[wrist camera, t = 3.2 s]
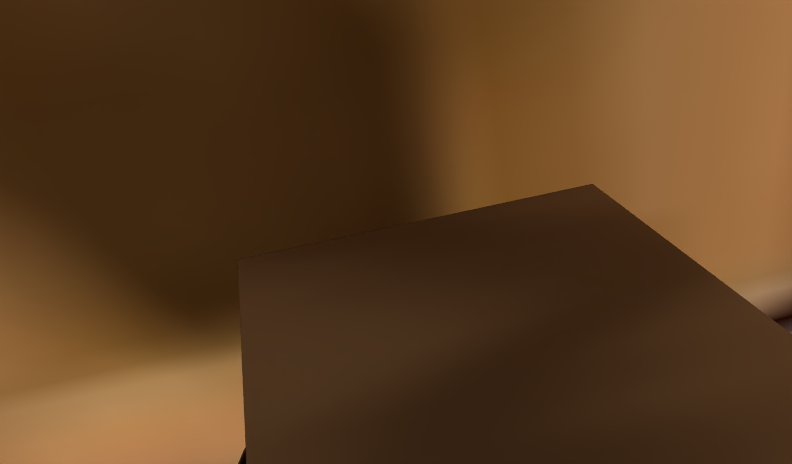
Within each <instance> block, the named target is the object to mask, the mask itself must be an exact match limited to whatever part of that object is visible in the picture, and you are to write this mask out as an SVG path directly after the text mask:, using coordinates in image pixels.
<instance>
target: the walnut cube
mask: <svg viewBox="0 0 792 464" xmlns="http://www.w3.org/2000/svg"><path fill="white" fill-rule="evenodd" d="M238 282H239V305H240V327H241V350H242V373H243V396H244V418H245V441H246V464H792V334H791V333H789V332H788V331H787V330H785V329H784V328H783V327H781V326H780V325H779V324H777V323H776V322H775V321H773V320H772V319H771V318H769V317H768V316H767V315H766V314H764V313H763V312H762V311H760V310H759V309H758V308H756V307H755V306H754V305H752V304H751V303H750V302H748V301H747V300H746V299H744V298H743V297H742V296H740V295H739V294H738V293H736V292H735V291H734V290H732V289H731V288H730V287H728V286H727V285H726V284H724V283H723V282H722V281H720V280H719V279H718V278H717V277H715V276H714V275H713V274H711V273H710V272H709V271H707V270H706V269H705V268H703V267H702V266H701V265H699V264H698V263H697V262H695V261H694V260H693V259H691V258H690V257H689V256H687V255H686V254H685V253H683V252H682V251H681V250H679V249H678V248H677V247H675V246H674V245H673V244H672V243H670V242H669V241H668V240H666V239H665V238H664V237H662V236H661V235H660V234H658V233H657V232H656V231H654V230H653V229H652V228H650V227H649V226H648V225H646V224H645V223H644V222H642V221H641V220H640V219H638V218H637V217H636V216H634V215H633V214H632V213H630V212H629V211H628V210H626V209H625V208H624V207H623V206H621V205H620V204H619V203H617V202H616V201H615V200H613V199H612V198H611V197H609V196H608V195H607V194H605V193H604V192H603V191H601V190H600V189H599V188H597V187H596V186H595V185H593V184H590V185H585V186H580V187H576V188H571V189H566V190H562V191H557V192H552V193H548V194H543V195H538V196H534V197H529V198H524V199H520V200H515V201H510V202H506V203H501V204H496V205H492V206H487V207H482V208H478V209H473V210H468V211H464V212H459V213H454V214H450V215H445V216H440V217H436V218H431V219H426V220H422V221H417V222H412V223H408V224H403V225H398V226H394V227H389V228H384V229H380V230H375V231H370V232H366V233H361V234H356V235H352V236H347V237H342V238H337V239H333V240H328V241H323V242H319V243H314V244H309V245H305V246H300V247H295V248H291V249H286V250H281V251H277V252H272V253H267V254H263V255H258V256H253V257H249V258H244V259H239V260H238Z"/></svg>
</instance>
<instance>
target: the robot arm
mask: <svg viewBox="0 0 792 464" xmlns="http://www.w3.org/2000/svg"><path fill="white" fill-rule="evenodd" d="M238 464H246V448H245V449H244V451H243V453H242V456H241V458H240V461H239V463H238Z"/></svg>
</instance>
